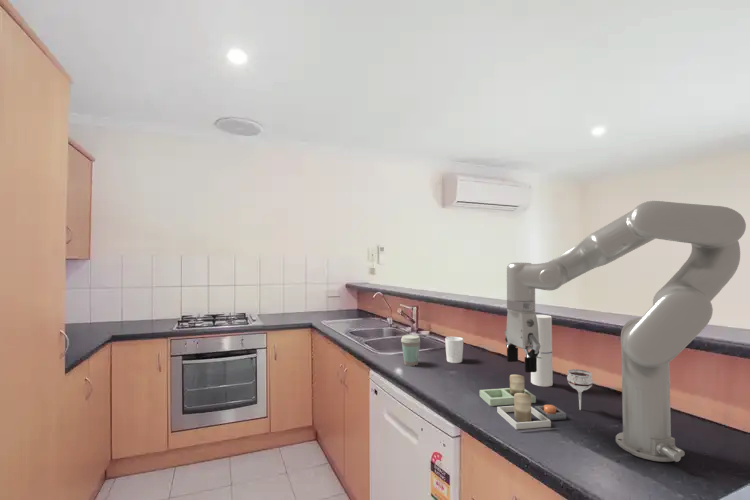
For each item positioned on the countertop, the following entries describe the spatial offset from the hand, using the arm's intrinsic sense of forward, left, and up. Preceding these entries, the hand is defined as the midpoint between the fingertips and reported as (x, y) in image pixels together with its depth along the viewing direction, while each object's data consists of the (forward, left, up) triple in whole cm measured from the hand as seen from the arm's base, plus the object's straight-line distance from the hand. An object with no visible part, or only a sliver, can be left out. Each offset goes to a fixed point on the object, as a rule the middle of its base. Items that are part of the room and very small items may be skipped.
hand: (521, 366), depth 106 cm
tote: (0, 0, -16) cm, 16 cm away
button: (+1, -9, -15) cm, 18 cm away
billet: (0, 0, -15) cm, 15 cm away
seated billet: (+14, -6, -15) cm, 21 cm away
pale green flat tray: (+14, -3, -16) cm, 21 cm away
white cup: (+61, -2, -16) cm, 63 cm away
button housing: (+1, -9, -16) cm, 18 cm away
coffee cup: (+60, +18, -16) cm, 64 cm away
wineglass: (+3, -20, -16) cm, 26 cm away
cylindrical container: (+26, -22, -16) cm, 38 cm away
